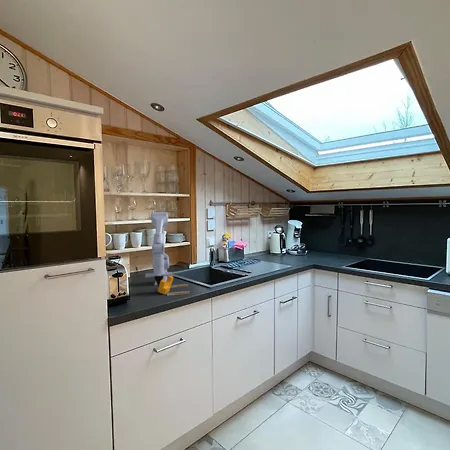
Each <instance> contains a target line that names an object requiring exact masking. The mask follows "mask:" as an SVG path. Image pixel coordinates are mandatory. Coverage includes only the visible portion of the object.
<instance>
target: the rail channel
mask: <svg viewBox="0 0 450 450" xmlns="http://www.w3.org/2000/svg"><path fill="white" fill-rule="evenodd" d="M175 288H177V289H178V288H189V284H187V283H185V284H173V285H172V284H171V287H170V289H175ZM183 295H184V296H185V295H190V291H174V292H172V291H171V292H167V293H166V296H183Z"/></svg>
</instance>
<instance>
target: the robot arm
mask: <svg viewBox="0 0 450 450" xmlns="http://www.w3.org/2000/svg"><path fill="white" fill-rule="evenodd" d="M168 215H169V213H168V212H167V211H162V212H160V211H159V212H158V211H157V212H155V211H154V212H151V213H150V222H151V225H152V226H153V227H154V228H155V233H154V234H153V241H152V246H151V252H152V261H151V262H152V269H153V272H148V273H147V272H146V273H145V278H154V281H155V282H154V286H157V288H159V285H160V281H161V280H164V281H166V280H167V278H168V276H172V277H173V272H172V271H168V269H169V268H170V257H169V255H168V254H166V253H165V231H164V230H165V227H167V226H168V222H169V217H168Z"/></svg>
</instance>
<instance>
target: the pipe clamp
mask: <svg viewBox="0 0 450 450" xmlns="http://www.w3.org/2000/svg"><path fill="white" fill-rule="evenodd" d="M173 281H174V276H173V275H172V276H167V280H166V281H164V280H161V281H160V285H159V288H158V287H157V288H158V289H157V293H160V294H163V295H167V293H170V290H171V288H170V287H171V285H172V283H173Z"/></svg>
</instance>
